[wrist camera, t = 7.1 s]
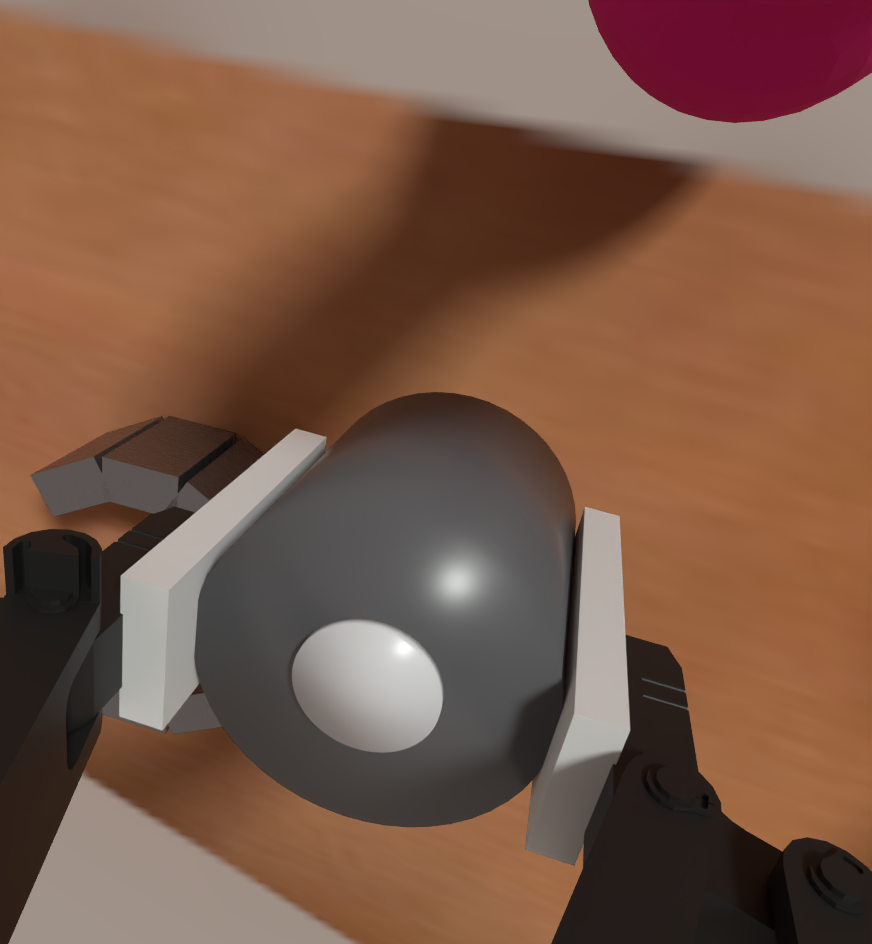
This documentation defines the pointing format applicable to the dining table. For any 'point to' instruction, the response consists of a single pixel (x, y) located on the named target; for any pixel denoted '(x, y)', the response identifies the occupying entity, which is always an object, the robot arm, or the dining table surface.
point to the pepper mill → (739, 52)
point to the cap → (400, 617)
